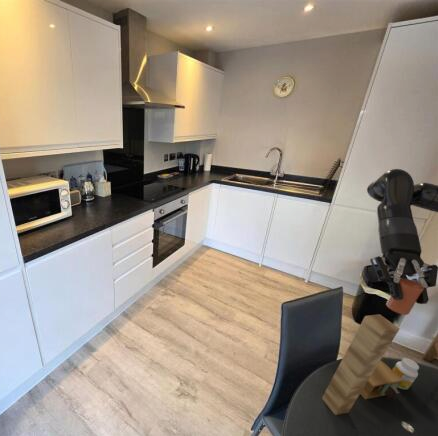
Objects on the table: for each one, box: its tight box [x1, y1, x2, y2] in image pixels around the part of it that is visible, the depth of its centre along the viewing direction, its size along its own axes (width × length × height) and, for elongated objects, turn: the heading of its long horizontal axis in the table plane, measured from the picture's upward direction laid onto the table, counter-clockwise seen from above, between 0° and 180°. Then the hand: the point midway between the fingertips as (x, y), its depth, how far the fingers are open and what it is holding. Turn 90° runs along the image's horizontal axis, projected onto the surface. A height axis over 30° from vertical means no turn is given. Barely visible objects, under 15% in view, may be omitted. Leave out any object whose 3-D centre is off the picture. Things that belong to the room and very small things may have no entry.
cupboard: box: [359, 359, 403, 400], centre depth 83 cm, size 12×7×7 cm, turn 101°
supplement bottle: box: [391, 357, 420, 390], centre depth 84 cm, size 5×5×10 cm
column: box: [321, 313, 401, 416], centre depth 71 cm, size 5×5×35 cm
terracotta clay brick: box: [385, 277, 424, 316], centre depth 62 cm, size 4×4×8 cm
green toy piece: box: [380, 382, 400, 401], centre depth 79 cm, size 5×3×5 cm, turn 101°
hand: (409, 301), depth 60 cm, fingers closed on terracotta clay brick, 4 cm apart
